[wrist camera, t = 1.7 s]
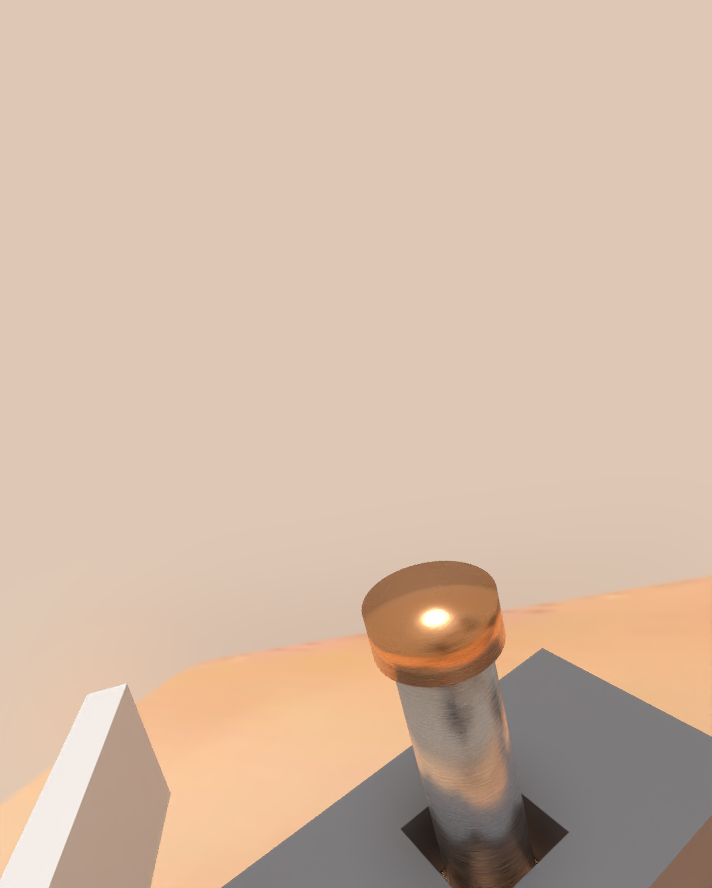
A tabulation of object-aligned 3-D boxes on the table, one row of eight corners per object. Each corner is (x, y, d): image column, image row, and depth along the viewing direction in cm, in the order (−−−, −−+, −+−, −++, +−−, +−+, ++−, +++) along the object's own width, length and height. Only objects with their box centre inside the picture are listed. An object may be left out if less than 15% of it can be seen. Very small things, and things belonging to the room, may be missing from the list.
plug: (495, 822, 31) (435, 548, 26) (580, 899, 26) (526, 588, 22) (418, 892, 28) (337, 604, 24) (497, 990, 24) (417, 660, 19)
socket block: (551, 701, 37) (542, 648, 36) (761, 828, 27) (757, 761, 26) (231, 962, 27) (204, 899, 26) (377, 1318, 17) (344, 1242, 16)
